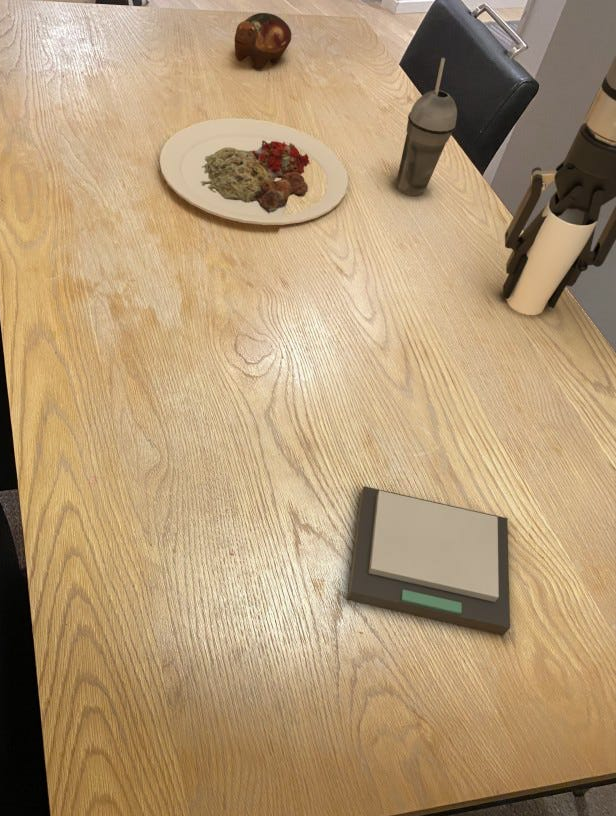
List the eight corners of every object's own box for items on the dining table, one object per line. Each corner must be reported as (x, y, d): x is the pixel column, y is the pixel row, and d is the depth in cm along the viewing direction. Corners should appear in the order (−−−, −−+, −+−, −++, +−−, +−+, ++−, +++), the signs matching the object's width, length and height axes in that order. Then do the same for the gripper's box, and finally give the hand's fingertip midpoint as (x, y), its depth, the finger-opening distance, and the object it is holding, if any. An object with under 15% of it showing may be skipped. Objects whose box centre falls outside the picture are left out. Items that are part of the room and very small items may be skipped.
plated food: (130, 200, 115) (130, 179, 112) (196, 112, 132) (197, 92, 129) (320, 255, 111) (325, 234, 109) (362, 158, 128) (368, 138, 126)
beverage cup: (430, 209, 121) (478, 76, 105) (385, 201, 121) (426, 66, 105) (430, 185, 125) (476, 53, 109) (386, 177, 126) (426, 44, 109)
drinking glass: (513, 325, 106) (564, 228, 94) (490, 294, 110) (537, 197, 98) (554, 320, 108) (610, 224, 96) (531, 290, 111) (581, 194, 99)
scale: (498, 531, 85) (511, 512, 82) (500, 639, 77) (514, 623, 74) (358, 499, 86) (366, 480, 83) (345, 604, 78) (353, 586, 75)
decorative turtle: (215, 64, 143) (220, 15, 137) (260, 47, 151) (266, -1, 145) (257, 80, 140) (264, 30, 133) (301, 62, 148) (309, 14, 142)
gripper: (536, 131, 87) (462, 299, 106) (699, 164, 86) (595, 327, 105) (533, 101, 91) (463, 268, 110) (689, 132, 90) (591, 294, 109)
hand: (528, 296), depth 107 cm, fingers closed on drinking glass, 6 cm apart
